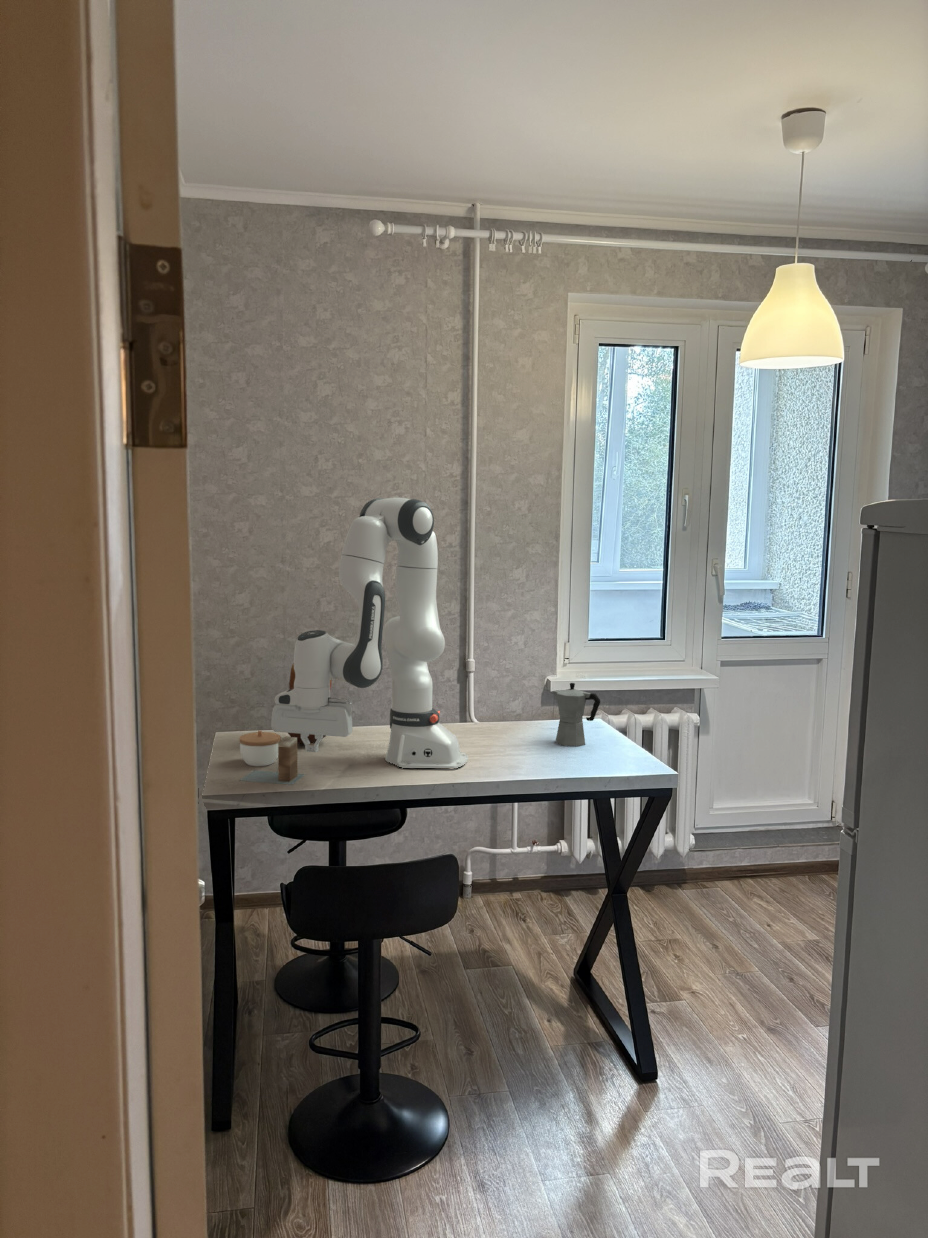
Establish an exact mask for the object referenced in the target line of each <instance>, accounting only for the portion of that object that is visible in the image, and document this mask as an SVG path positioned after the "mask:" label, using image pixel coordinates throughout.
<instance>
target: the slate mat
mask: <svg viewBox="0 0 928 1238" xmlns="http://www.w3.org/2000/svg"><path fill="white" fill-rule="evenodd" d="M306 774H307V773H297V777H296V778H294V779H293V780H292V781H290V782H285V781H279V775H278V771H270V770H269V771H268V770H258V769H257V770H255V769H254V770H252V771H251V772H250V773H248V774H246V775H245V776H243V777H242V778H241V779H239V780H238V781H241V782H252V783H263V784H277V785H288V786H290V785H291V786H293V785H295V784H296V783H297V782H298V781H300V779H302V778H304V776H305V775H306Z"/></svg>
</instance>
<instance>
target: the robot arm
mask: <svg viewBox="0 0 928 1238" xmlns="http://www.w3.org/2000/svg"><path fill="white" fill-rule="evenodd" d="M432 510H433V509H432V508H431V507H430V505H429V504H428V503H426V502H425V501H423V500H420V499H416V498H411V499H410V498H406V497H390V498H389V497H387V498H382V497H379V498H374V499H371V500H369V501H368V502H366V503H365V504H364V505H363V507H362V508H361V511H360V513H359V516H358V517H356V518H354V519H353V521H352V522H351V525H350V527H349V529H348V531H347V534H346V536H345V540H344V542H343V547H342V549H341V550H342V551H341V555H340V560H339V563H338V579H339V582H340V584H341V586H342V587H343V589H344V590H345V591H346V592H347V593H349V595H350V596H352V597H353V599H354V601H356V603H357V606H358V610H359V611H358V612H359V613H358V615H359V616H358V625H357V634H356V635H357V636H356V642H355V643H351V642H348V641H344V640H340V639H338V638H337V637H333V636H332V635H330V634H329V633H328V632H327V631H325V630H321V629H315V630H307V631H305V632H301V634H299V635H297V638H296V640H295V643H294V650H293V663H294V670H295V681H294V689H291V690H289V689H287V690H284V691H282V692H280V693H278V694H277V695H276V696H274V702H275V705H274V706H273V708H272V710H271V711H272V712H271V719H270V720H271V725H270V727H271V729H272V731H273V732H274V733H285V734H286V733H287V734H288V733H299V734H301V739H302V741H303V743H304V744H303V745H304V747H305V749H304V751H305V752H312V753H318V752H319V750H320V749H319V748H320V742H321V741H322V740H323V739H324V738H323V735H326V736H325V737H327V736H329V737H341V738H344V737H345V738H347V737H348V736H349V735H351V734H352V732H353V727H354V726H353V719H352V715H353V704H352V702H351V701H349V700H348V699H346V698H336V697H331V689H330V680H331V679H332V680H338V681H341V682H344V683H348V684H349V685H352V686H354V687H356V688H359V689H364V688H365V689H366V688H369V687H371V686H373V685H374V684H375V683H376V682H378V680H379V678H380V677H381V675H382V672H383V668H384V667H383V665H384V661H383V660H384V659H383V652H382V650H383V649H382V645H383V643H382V641H383V642H384V645H385V648H386V652H387V655H386V656H387V659H388V660H387V661H388V666H389V671H390V679H391V708H390V709H389V710H390V711H389V729H390V734H389V741H388V747H387V750H386V751H387V752H386V754H385V757H384V759H385V761H386V762H387V763H389V762H390V763H389V764H392V763H393V764H392V765H394V764H395V766H396V765H397V766H396V767H398V766H399V767H402V768H401V769H403V768H458V767H460V766H462V765H464V764H465V763H466V762H467V763H468V761H469V759H468V754H466V753H465V752H461V750H460V748H461V746H460V743H459V739H458V737H457V735H455V734H454V733H453V732H452V731H450V730H449V729H448V728H446V726H444V725H443V724H442V723H440V715H441V710H438V711H437V710H436V709H434V708H433V679H432V676H431V674H430V671H429V666H428V663H431V662H434V661H435V660H437V659H438V658H440V657H441V655H442V654H443V652H444V650H445V646H446V640H445V636H444V634H443V632H442V630H441V624H440V619H439V617H440V616H439V610H438V604H437V603H438V601H437V587H438V586H437V584H438V568H439V567H438V565H439V559H438V557H439V551H438V550H439V549H438V542H437V535H436V533H435V532H434V527H435V519H434V518H435V517H434V512H433V511H432ZM391 541H394V542H395V543H396V545H397V556H396V557H397V558H396V565H395V566H396V568H395V580H394V581H395V582H394V584H395V585H394V596H395V599H396V601H397V606H398V612H399V613H398V614H399V615H398V616H394V617H392V618H390V619H388V620H387V621H386V623H385V624H384V622H385V621H384V620H385V610H386V609H385V608H386V592H385V588H384V584H383V576H384V566H385V562H386V557H387V548H388V546H389V544H390V543H391ZM309 734H313V735H315V739H317V740H316V742H315V743H310V742H309V740H308V738H307V737H308V736H309ZM322 738H323V739H322ZM467 760H468V761H467ZM467 763H466V764H467ZM466 764H465V765H466ZM465 765H464V766H465ZM399 767H398V768H399ZM458 769H459V768H458Z"/></svg>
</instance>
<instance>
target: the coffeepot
mask: <svg viewBox="0 0 928 1238" xmlns="http://www.w3.org/2000/svg"><path fill="white" fill-rule="evenodd" d="M575 685H576V683H575V682H570V683H569V688H568V689H559V690H552V691H551V692H550V693H551V694H552V695H553V697H554V699H555V701H556V703H557V705H558V706H557V707H558V715H559V722H558V727H557V731H556V738H555V743H556V744H557V745H560V746H563V747H581V746H584V745H586V739H585V732H584V730H585V729H584V722H583V717H584V714H585V709H586V708H585V707H586V702H587V701H588V700H592V701H594V702H593V704H592V709H591V711H590V717H589V716H586V721H588V722H592V721H594V720H595V717H596V715H597V712H598V709H599V706H600V705H601V699H600V698H599V696H598V695H597V694H596V693H591V692H587V691H584V690H579V689H575Z"/></svg>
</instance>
